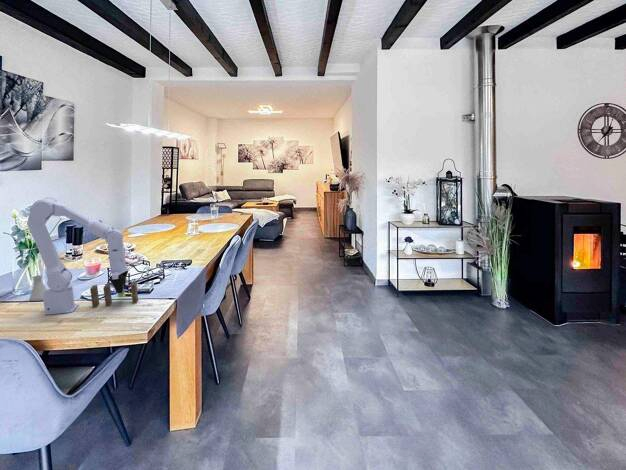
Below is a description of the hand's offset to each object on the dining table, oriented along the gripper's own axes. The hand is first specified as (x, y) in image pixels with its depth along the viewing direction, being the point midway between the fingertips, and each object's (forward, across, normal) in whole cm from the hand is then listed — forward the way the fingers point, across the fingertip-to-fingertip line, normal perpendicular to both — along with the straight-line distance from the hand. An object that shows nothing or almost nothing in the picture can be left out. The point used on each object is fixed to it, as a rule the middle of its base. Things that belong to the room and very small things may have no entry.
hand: (120, 290), depth 153 cm
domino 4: (+5, 0, -5) cm, 7 cm away
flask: (+5, +16, +34) cm, 38 cm away
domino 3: (+2, 0, 0) cm, 2 cm away
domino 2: (+5, 0, +5) cm, 7 cm away
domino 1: (+5, 0, +10) cm, 11 cm away
